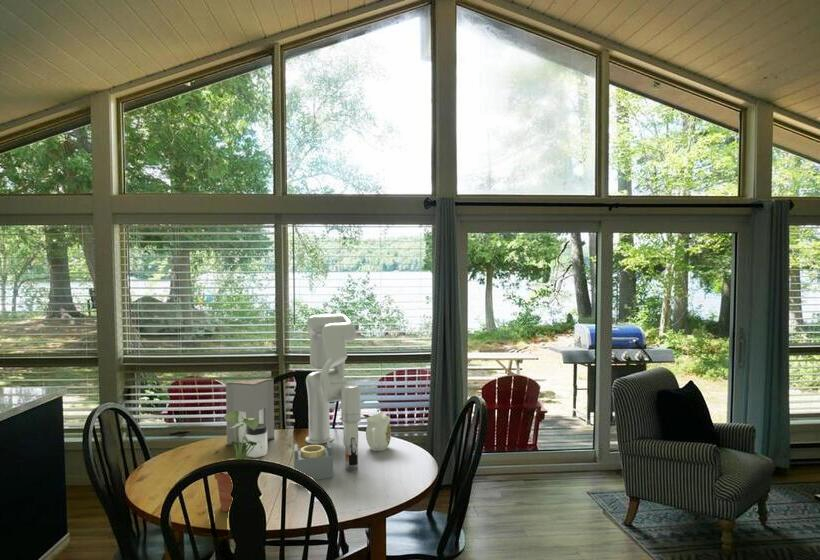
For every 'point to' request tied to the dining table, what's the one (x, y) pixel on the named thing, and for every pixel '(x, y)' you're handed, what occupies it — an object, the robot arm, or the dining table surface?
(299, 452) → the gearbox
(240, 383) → the cabinet
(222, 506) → the potted plant
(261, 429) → the jar
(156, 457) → the dining table surface
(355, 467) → the cocktail shaker
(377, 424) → the pitcher
